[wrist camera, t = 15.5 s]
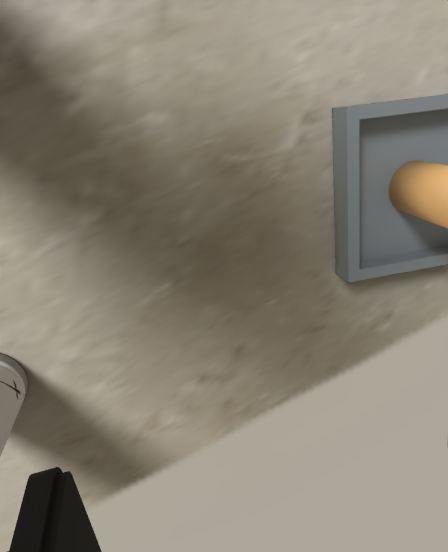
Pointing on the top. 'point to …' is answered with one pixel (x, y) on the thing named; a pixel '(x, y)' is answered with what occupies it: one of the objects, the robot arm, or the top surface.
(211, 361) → the top surface
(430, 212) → the battery cell
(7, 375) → the travel mug
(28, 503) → the robot arm
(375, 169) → the tray
